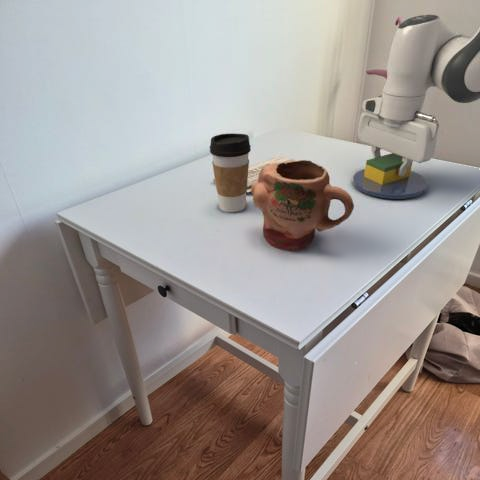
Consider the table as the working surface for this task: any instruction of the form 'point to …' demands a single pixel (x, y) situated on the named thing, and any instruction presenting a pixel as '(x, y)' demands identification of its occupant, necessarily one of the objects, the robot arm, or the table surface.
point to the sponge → (385, 169)
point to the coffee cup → (231, 169)
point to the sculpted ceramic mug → (296, 202)
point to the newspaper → (255, 170)
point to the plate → (391, 186)
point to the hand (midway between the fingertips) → (388, 170)
